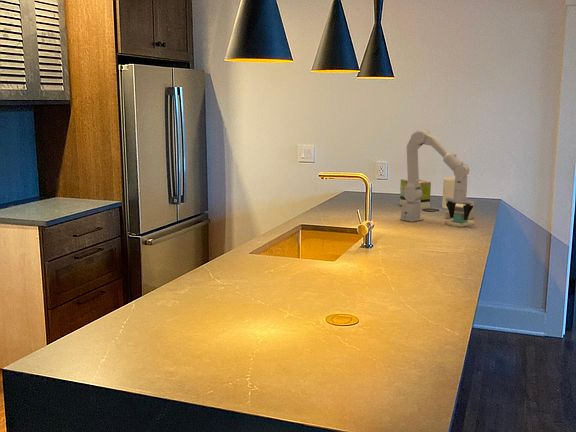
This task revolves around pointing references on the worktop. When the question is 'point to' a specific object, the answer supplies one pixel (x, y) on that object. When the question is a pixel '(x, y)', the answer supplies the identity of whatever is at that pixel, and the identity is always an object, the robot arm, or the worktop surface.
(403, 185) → the tea box
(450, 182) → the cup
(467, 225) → the tray
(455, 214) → the tall grey-green carton
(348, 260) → the worktop surface
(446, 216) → the bay
